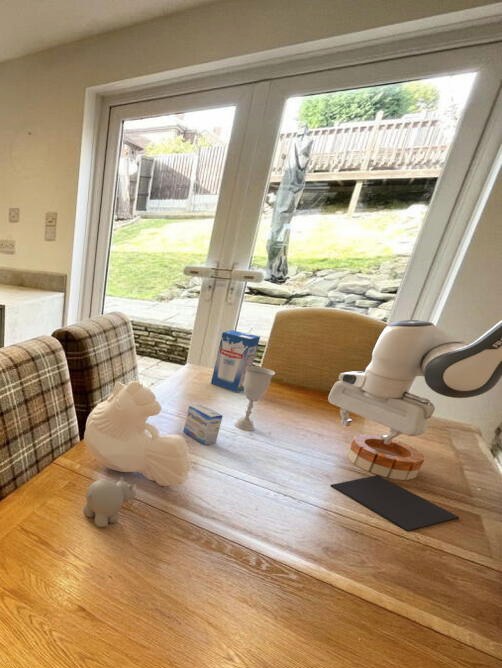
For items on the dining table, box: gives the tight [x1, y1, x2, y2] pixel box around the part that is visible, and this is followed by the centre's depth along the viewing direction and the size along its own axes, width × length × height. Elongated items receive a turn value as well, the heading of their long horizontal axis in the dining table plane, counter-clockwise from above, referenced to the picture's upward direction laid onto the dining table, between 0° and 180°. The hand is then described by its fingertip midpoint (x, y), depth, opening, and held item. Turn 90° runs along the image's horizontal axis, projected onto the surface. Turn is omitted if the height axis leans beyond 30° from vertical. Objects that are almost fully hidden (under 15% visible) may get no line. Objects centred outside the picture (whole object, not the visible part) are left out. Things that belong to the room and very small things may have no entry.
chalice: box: [234, 365, 276, 432], centre depth 115 cm, size 7×7×18 cm
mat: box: [330, 474, 460, 533], centre depth 86 cm, size 15×15×1 cm
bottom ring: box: [346, 446, 421, 481], centre depth 99 cm, size 13×13×2 cm
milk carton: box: [210, 329, 261, 393], centre depth 143 cm, size 10×6×20 cm, turn 30°
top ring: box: [350, 434, 425, 471], centre depth 98 cm, size 13×13×2 cm
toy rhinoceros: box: [82, 476, 137, 528], centre depth 81 cm, size 7×12×8 cm, turn 114°
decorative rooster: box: [83, 380, 192, 487], centre depth 90 cm, size 25×16×25 cm
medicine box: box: [182, 403, 224, 446], centre depth 110 cm, size 8×4×9 cm, turn 21°
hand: (364, 433), depth 102 cm, fingers open, 8 cm apart
